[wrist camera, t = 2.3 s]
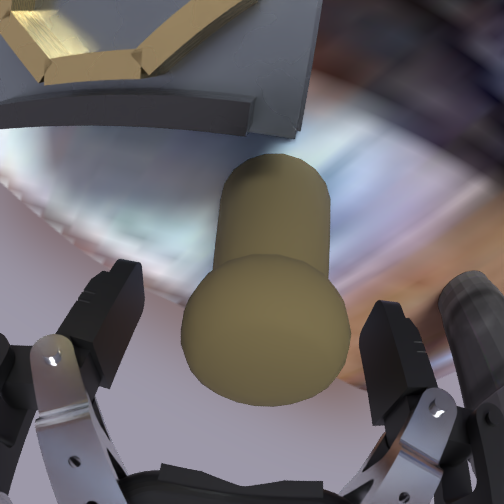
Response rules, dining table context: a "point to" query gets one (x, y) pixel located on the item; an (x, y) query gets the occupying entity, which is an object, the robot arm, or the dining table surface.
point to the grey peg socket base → (158, 64)
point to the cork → (269, 290)
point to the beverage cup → (475, 338)
